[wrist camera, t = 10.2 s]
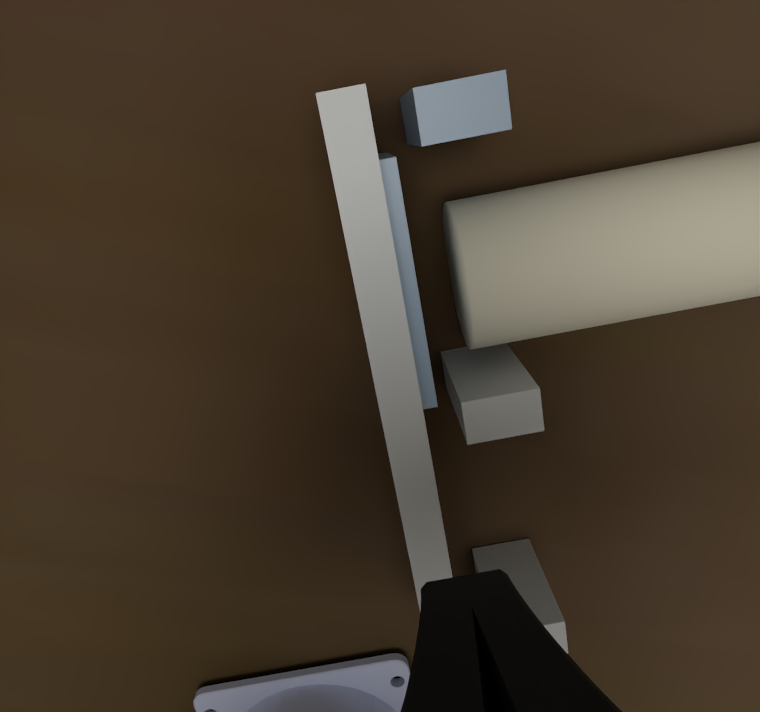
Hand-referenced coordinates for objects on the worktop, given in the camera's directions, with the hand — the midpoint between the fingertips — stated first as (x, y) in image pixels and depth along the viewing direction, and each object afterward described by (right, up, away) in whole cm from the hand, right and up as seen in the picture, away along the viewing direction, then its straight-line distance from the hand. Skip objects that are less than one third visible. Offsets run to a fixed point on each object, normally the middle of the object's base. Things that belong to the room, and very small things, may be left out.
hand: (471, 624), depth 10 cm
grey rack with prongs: (+1, +4, +9) cm, 10 cm away
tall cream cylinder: (+6, +9, +8) cm, 14 cm away
